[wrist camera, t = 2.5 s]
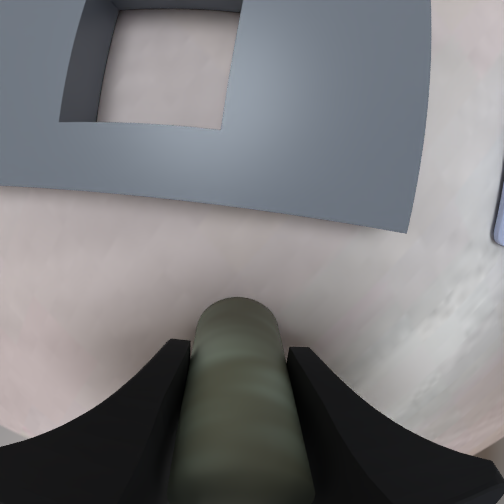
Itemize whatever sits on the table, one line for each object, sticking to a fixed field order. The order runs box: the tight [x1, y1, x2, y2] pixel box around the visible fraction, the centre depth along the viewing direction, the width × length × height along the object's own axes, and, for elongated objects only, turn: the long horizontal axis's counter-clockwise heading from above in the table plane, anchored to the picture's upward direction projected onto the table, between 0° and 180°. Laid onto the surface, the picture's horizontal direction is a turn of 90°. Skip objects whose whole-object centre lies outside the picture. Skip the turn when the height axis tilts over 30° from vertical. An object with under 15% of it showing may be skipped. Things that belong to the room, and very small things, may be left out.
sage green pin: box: [167, 297, 315, 504], centre depth 8 cm, size 3×3×7 cm
